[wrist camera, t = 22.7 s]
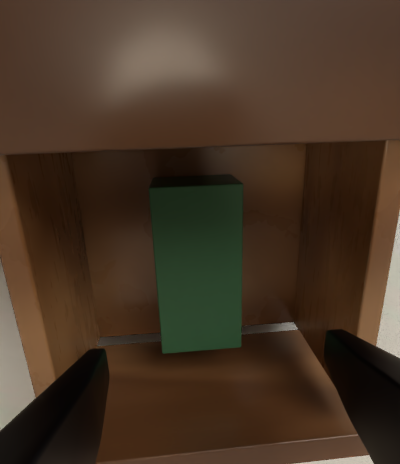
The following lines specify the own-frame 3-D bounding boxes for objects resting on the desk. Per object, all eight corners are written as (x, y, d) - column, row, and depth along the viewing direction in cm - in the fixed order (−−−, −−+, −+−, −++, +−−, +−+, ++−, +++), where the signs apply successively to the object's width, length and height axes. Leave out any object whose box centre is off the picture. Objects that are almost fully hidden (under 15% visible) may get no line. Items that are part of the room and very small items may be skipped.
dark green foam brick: (231, 315, 17) (241, 347, 14) (163, 320, 16) (161, 354, 14) (231, 173, 14) (244, 183, 12) (152, 177, 14) (148, 187, 12)
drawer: (302, 405, 21) (362, 531, 14) (95, 426, 20) (58, 571, 13) (335, 48, 14) (474, -21, 8) (26, 52, 13) (-114, -21, 7)
